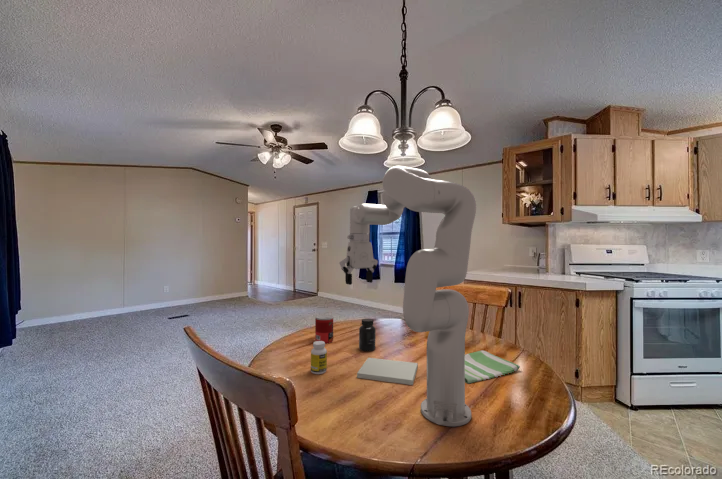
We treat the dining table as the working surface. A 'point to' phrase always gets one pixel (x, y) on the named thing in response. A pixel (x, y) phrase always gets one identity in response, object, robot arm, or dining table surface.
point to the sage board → (388, 371)
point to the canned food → (324, 328)
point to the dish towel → (486, 366)
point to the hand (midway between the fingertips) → (359, 283)
